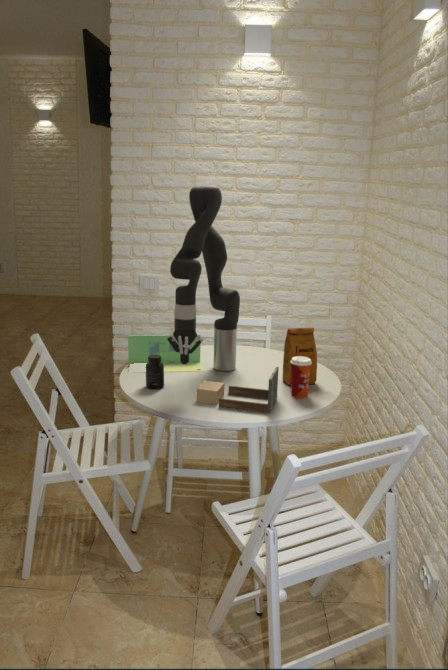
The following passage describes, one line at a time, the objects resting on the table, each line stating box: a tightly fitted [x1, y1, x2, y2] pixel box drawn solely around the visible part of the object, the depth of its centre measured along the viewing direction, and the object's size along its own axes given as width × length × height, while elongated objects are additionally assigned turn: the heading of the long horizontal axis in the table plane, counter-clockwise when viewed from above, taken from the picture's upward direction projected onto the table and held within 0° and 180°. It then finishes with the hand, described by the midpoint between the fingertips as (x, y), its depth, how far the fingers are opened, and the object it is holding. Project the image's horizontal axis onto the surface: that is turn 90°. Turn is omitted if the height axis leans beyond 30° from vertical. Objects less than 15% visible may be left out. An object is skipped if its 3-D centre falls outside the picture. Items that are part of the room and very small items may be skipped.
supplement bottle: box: [145, 355, 165, 391], centre depth 221 cm, size 7×7×12 cm
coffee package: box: [282, 327, 318, 386], centre depth 228 cm, size 10×12×22 cm
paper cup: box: [290, 356, 312, 399], centre depth 215 cm, size 8×8×14 cm
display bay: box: [218, 366, 280, 414], centre depth 207 cm, size 14×18×12 cm
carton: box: [195, 380, 225, 405], centre depth 212 cm, size 9×8×5 cm
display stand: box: [127, 334, 204, 373], centre depth 244 cm, size 30×12×12 cm, turn 97°
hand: (184, 363), depth 211 cm, fingers closed
